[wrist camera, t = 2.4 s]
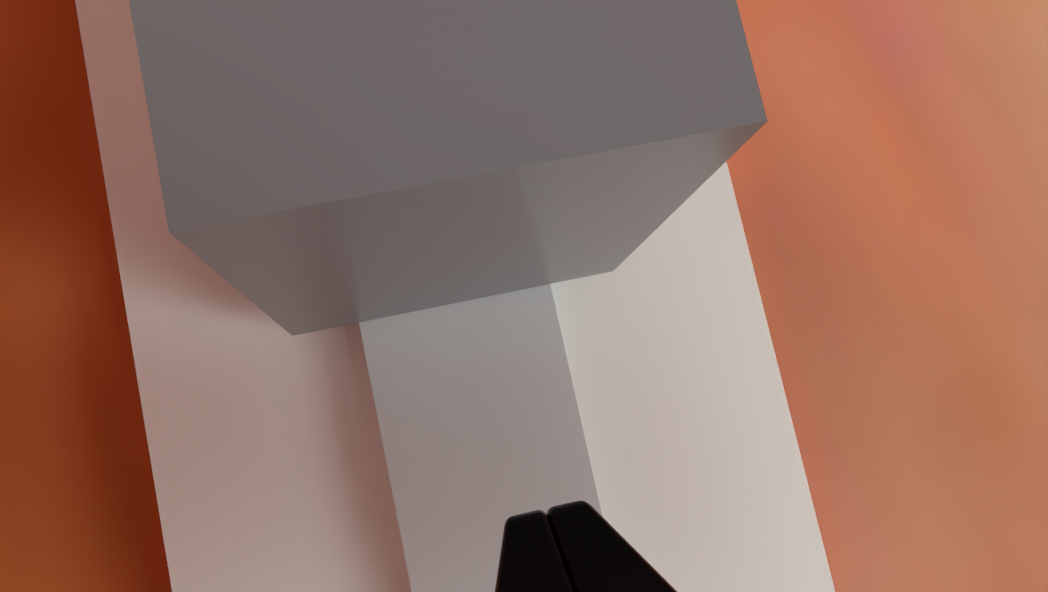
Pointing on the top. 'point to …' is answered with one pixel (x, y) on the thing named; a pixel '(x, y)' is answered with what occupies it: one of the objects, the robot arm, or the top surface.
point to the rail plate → (453, 405)
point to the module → (432, 140)
